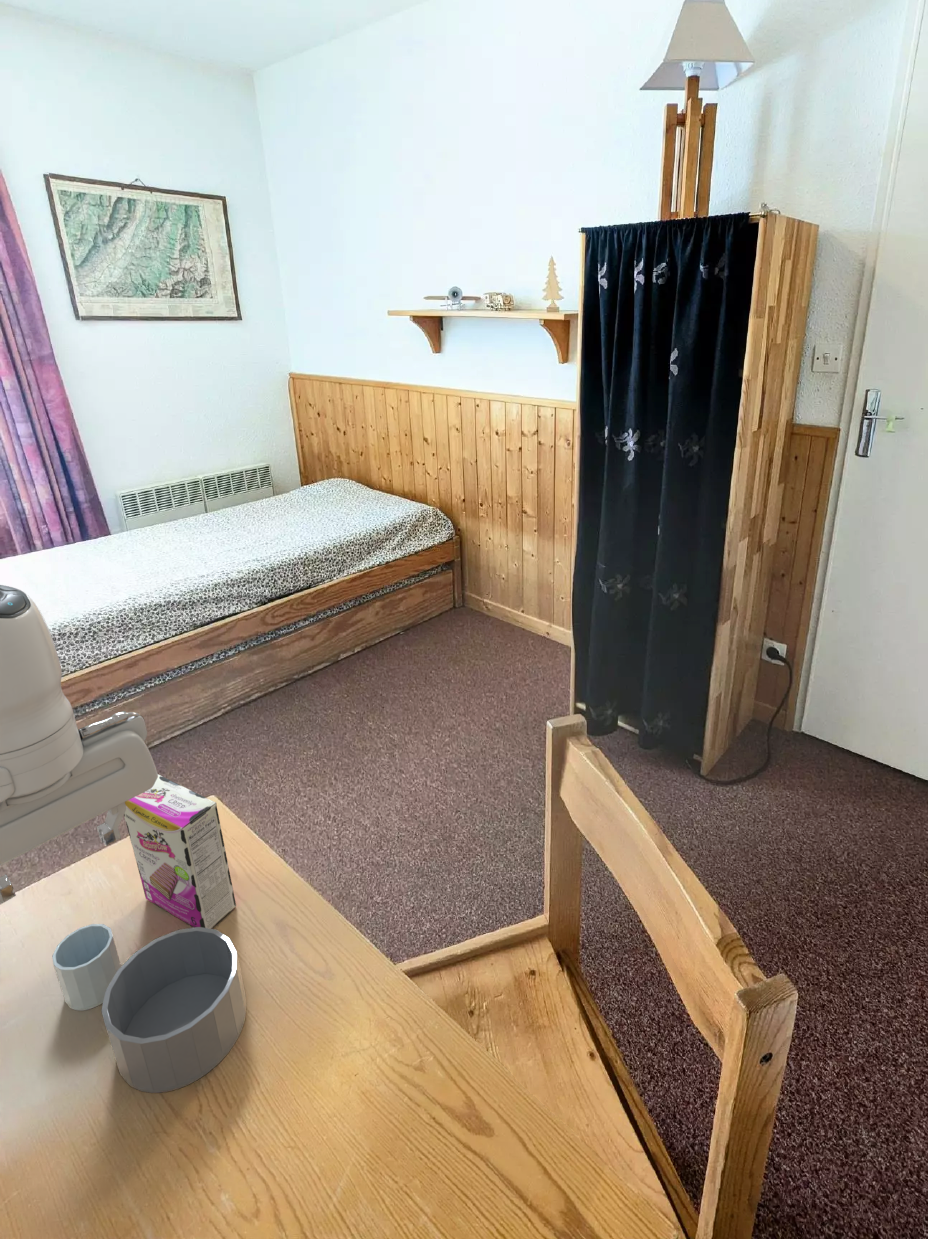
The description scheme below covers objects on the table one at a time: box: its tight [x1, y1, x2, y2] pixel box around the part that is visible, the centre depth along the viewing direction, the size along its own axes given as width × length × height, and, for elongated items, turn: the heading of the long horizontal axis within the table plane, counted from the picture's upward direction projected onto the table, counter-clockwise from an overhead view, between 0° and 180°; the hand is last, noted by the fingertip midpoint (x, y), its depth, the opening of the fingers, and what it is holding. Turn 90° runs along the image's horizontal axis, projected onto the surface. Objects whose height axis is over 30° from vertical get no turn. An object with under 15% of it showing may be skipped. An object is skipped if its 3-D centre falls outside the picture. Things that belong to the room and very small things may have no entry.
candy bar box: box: [123, 774, 237, 929], centre depth 81 cm, size 11×5×16 cm, turn 63°
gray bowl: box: [100, 927, 247, 1094], centre depth 68 cm, size 12×12×7 cm
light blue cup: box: [51, 923, 122, 1011], centre depth 72 cm, size 5×6×6 cm
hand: (60, 867), depth 67 cm, fingers open, 8 cm apart
